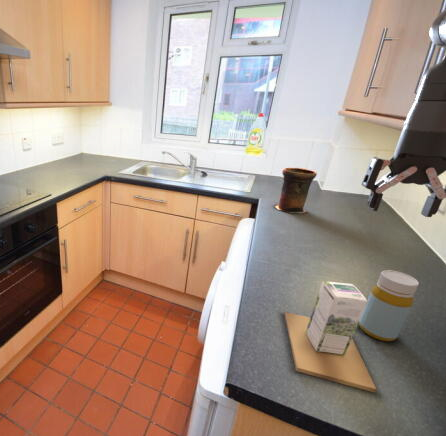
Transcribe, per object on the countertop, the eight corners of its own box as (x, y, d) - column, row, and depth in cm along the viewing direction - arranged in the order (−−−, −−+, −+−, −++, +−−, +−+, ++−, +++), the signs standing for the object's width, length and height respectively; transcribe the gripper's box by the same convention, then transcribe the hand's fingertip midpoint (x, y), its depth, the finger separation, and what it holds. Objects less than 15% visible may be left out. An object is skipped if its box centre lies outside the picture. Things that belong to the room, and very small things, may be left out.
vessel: (297, 204, 157) (306, 167, 150) (312, 214, 144) (323, 173, 136) (269, 204, 157) (277, 166, 150) (282, 213, 144) (292, 173, 137)
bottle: (399, 347, 66) (426, 290, 60) (360, 335, 69) (383, 280, 63) (391, 328, 71) (415, 274, 66) (355, 317, 74) (375, 266, 69)
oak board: (344, 328, 71) (346, 325, 70) (374, 393, 55) (376, 389, 55) (284, 315, 75) (285, 311, 74) (296, 371, 59) (297, 367, 59)
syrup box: (332, 336, 67) (352, 282, 61) (345, 357, 61) (369, 299, 56) (304, 333, 68) (322, 278, 62) (316, 353, 62) (335, 295, 57)
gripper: (391, 128, 52) (362, 214, 58) (501, 131, 47) (457, 224, 53) (374, 125, 59) (350, 202, 65) (469, 128, 54) (433, 211, 60)
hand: (398, 212), depth 59 cm, fingers open, 8 cm apart
